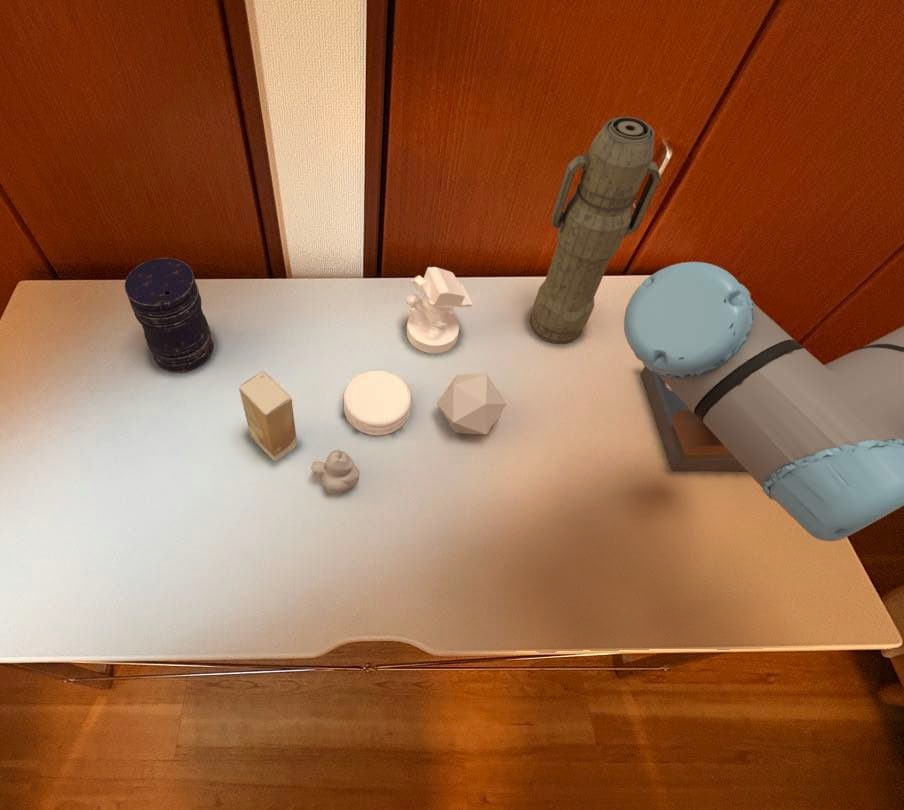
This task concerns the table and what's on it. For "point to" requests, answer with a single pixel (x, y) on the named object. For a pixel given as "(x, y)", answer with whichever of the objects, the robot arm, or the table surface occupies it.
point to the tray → (664, 411)
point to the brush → (696, 438)
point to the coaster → (377, 402)
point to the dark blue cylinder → (170, 314)
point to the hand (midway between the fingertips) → (752, 398)
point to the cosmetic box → (269, 415)
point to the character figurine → (435, 311)
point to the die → (471, 403)
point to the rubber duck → (336, 472)
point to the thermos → (594, 224)
